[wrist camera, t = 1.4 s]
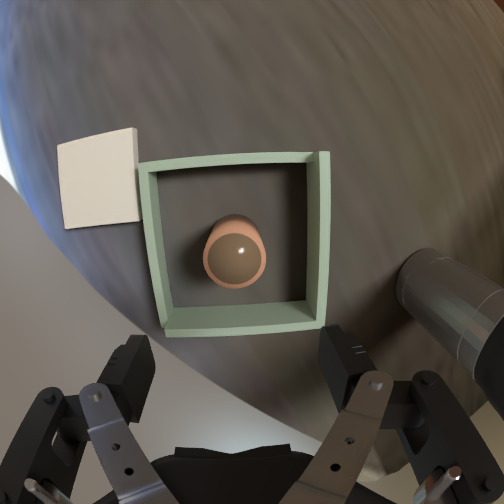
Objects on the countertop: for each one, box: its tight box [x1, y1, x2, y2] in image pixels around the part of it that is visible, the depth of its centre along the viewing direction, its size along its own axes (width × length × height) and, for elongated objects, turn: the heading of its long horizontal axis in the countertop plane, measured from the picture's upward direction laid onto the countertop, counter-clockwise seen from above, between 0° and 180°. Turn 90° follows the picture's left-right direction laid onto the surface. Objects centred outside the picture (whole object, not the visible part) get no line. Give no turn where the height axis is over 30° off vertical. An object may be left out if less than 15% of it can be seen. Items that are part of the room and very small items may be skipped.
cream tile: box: [57, 128, 143, 229], centre depth 27 cm, size 10×10×2 cm
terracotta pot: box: [203, 214, 266, 288], centre depth 28 cm, size 5×5×7 cm
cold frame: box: [138, 151, 330, 337], centre depth 29 cm, size 18×18×5 cm
